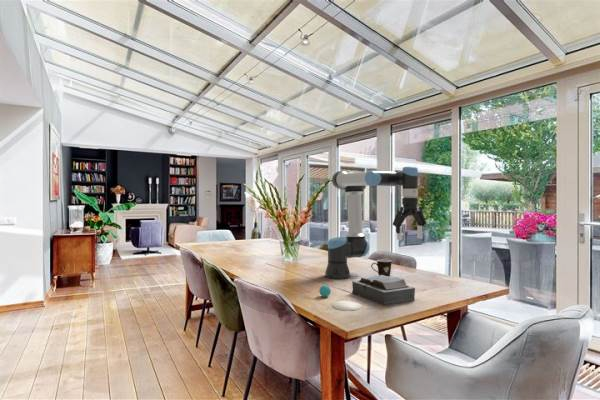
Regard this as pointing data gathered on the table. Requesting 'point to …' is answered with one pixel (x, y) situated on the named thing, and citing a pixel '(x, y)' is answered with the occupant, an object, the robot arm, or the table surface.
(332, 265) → the robot arm
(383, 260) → the coffee mug
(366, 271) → the table surface
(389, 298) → the bible
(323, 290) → the ball
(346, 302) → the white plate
